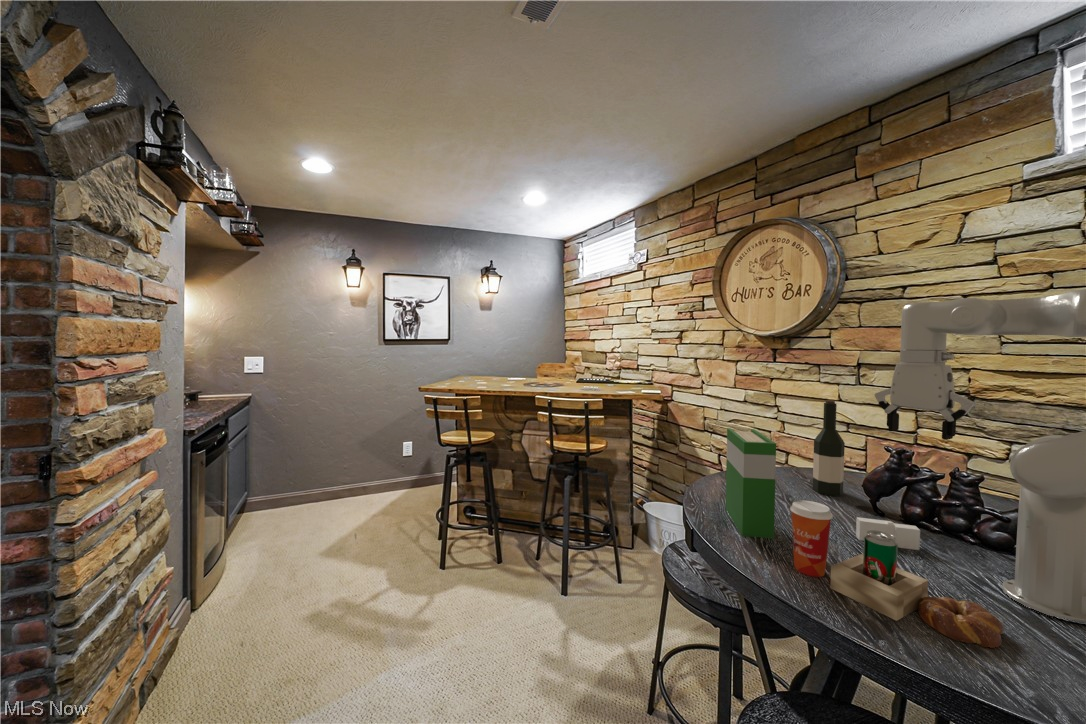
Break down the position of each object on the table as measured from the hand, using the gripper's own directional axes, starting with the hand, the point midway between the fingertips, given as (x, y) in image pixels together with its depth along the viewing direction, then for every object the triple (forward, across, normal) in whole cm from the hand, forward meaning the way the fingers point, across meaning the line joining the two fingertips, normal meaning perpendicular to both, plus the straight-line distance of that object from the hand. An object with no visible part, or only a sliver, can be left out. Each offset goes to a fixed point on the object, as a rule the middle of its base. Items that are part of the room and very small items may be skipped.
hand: (919, 434), depth 94 cm
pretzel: (+29, -15, +21) cm, 39 cm away
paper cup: (+28, +7, +26) cm, 40 cm away
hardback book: (+28, +30, +17) cm, 45 cm away
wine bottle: (+28, +34, -27) cm, 52 cm away
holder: (+28, -4, +24) cm, 37 cm away
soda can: (+28, -4, +24) cm, 37 cm away
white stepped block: (+29, +6, -3) cm, 30 cm away
